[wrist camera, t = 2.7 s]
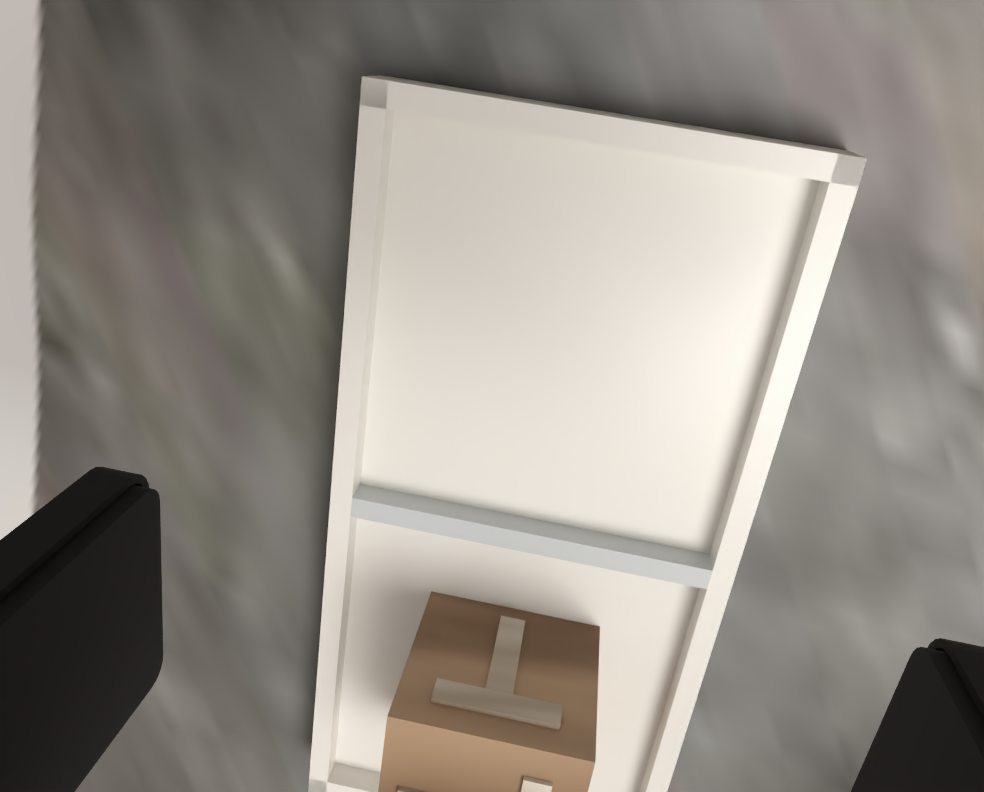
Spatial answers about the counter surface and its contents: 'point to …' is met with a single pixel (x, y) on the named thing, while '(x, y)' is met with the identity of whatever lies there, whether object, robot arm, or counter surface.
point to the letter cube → (493, 703)
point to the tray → (560, 393)
